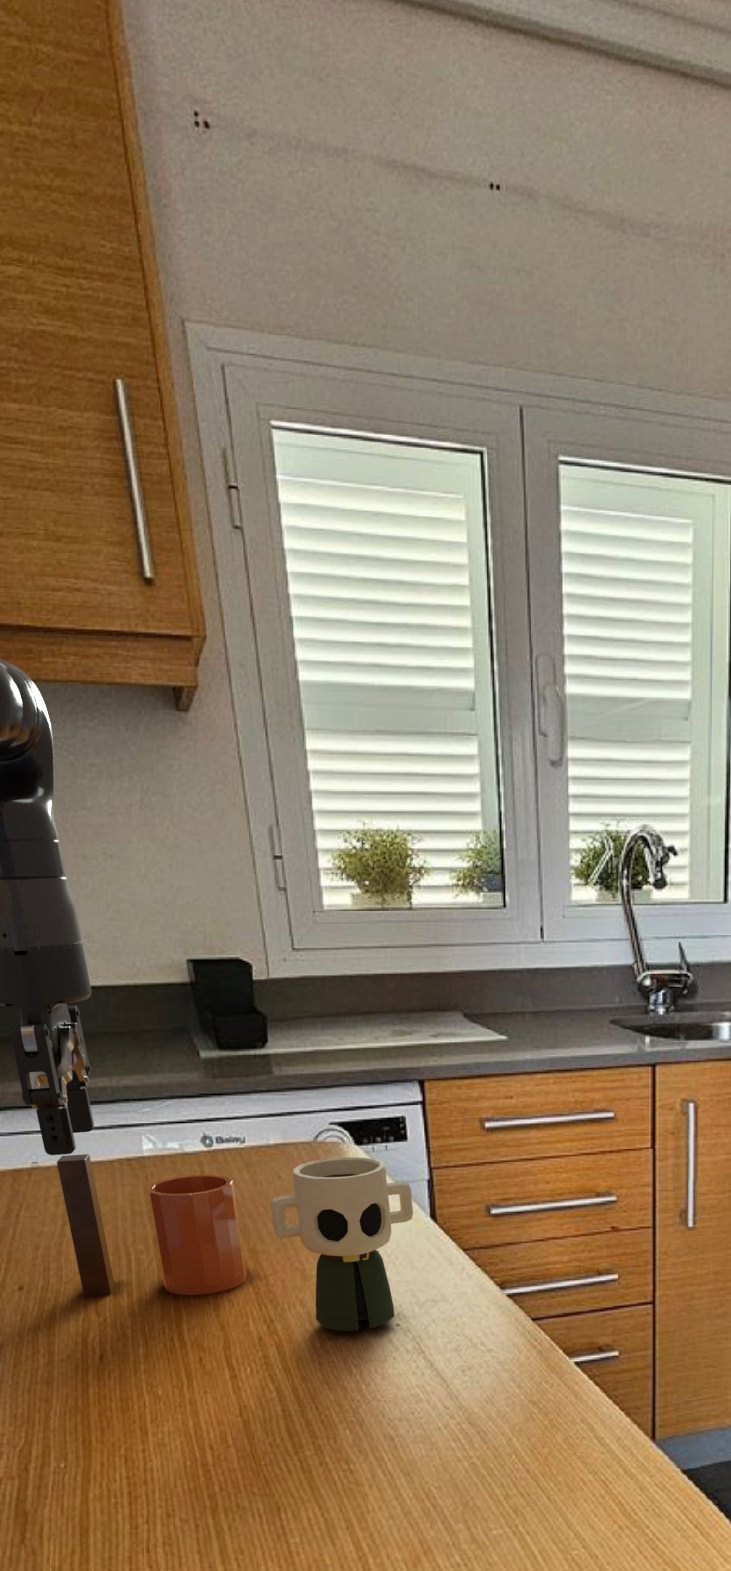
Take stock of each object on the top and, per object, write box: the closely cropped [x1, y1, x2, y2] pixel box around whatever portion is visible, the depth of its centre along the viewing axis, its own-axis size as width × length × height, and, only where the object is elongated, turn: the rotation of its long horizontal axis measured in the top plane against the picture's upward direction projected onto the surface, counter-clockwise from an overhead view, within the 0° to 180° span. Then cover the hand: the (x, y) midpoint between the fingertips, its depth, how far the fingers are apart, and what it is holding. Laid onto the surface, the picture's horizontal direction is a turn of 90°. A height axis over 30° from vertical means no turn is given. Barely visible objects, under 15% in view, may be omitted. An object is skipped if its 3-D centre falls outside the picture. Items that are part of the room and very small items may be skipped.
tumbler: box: [146, 1174, 247, 1296], centre depth 106 cm, size 7×7×9 cm
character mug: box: [270, 1156, 414, 1332], centre depth 95 cm, size 11×7×13 cm, turn 115°
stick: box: [56, 1153, 116, 1297], centre depth 103 cm, size 2×2×12 cm
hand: (71, 1142), depth 101 cm, fingers open, 8 cm apart
